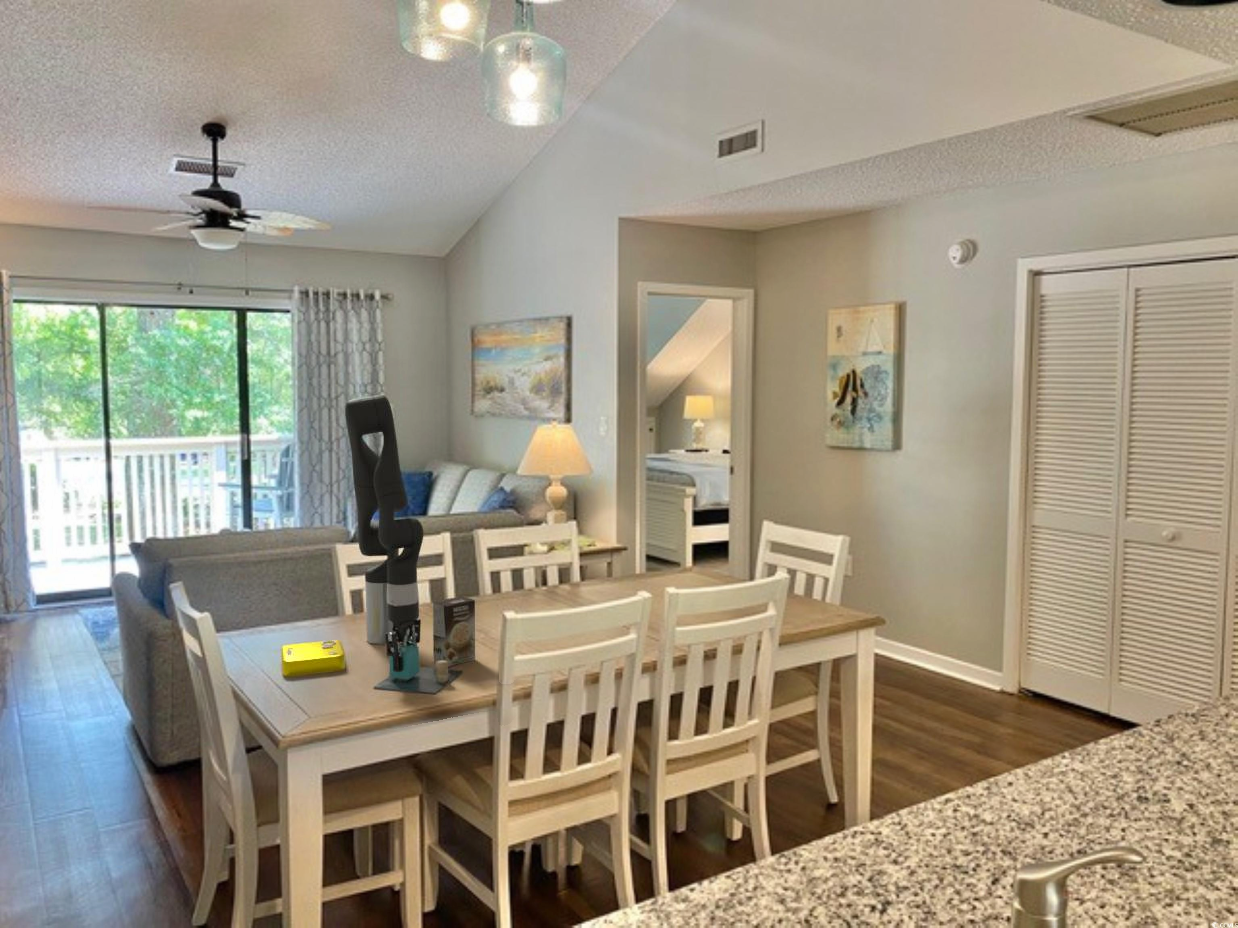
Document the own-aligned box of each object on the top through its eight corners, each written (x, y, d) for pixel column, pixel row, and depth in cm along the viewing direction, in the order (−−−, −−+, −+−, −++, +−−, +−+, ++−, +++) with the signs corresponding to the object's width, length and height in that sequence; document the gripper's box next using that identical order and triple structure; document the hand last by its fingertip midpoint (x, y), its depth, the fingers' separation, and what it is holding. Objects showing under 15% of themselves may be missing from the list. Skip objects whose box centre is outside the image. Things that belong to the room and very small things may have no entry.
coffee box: (446, 667, 233) (445, 606, 231) (432, 661, 237) (431, 601, 236) (476, 659, 239) (475, 599, 237) (462, 654, 244) (461, 595, 242)
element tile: (281, 660, 239) (280, 643, 239) (341, 654, 245) (340, 637, 244) (282, 678, 225) (282, 660, 225) (345, 671, 231) (345, 653, 230)
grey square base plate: (405, 667, 233) (404, 640, 232) (463, 672, 229) (462, 645, 228) (373, 688, 218) (372, 659, 217) (435, 694, 214) (434, 665, 213)
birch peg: (439, 679, 223) (439, 659, 223) (449, 680, 223) (449, 660, 222) (434, 683, 221) (433, 663, 220) (445, 684, 220) (444, 664, 220)
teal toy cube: (400, 670, 227) (399, 644, 227) (419, 672, 226) (418, 646, 225) (389, 677, 222) (389, 650, 222) (409, 679, 221) (408, 652, 220)
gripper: (402, 592, 230) (404, 656, 232) (374, 606, 216) (375, 675, 218) (430, 593, 228) (431, 658, 230) (402, 608, 214) (404, 677, 216)
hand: (404, 666), depth 224 cm, fingers open, 6 cm apart
